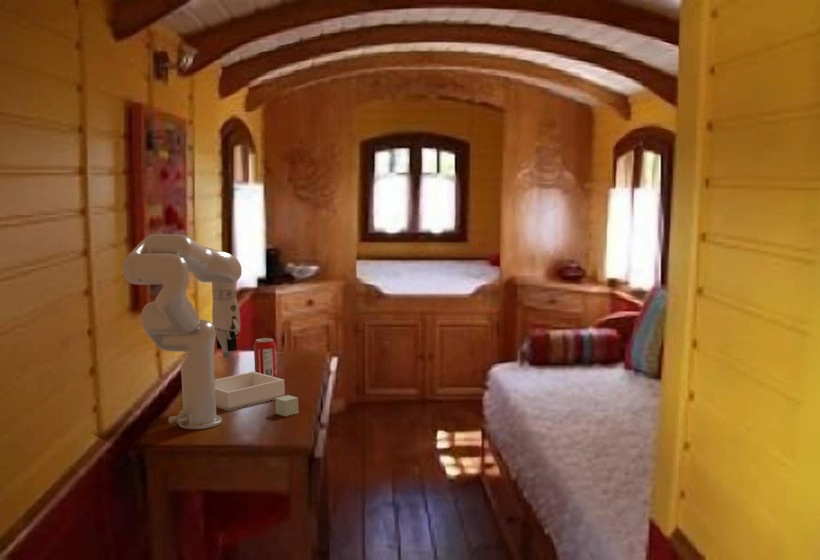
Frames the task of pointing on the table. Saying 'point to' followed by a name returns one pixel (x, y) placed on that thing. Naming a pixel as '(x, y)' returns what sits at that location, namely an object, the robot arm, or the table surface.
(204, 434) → the table surface
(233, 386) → the tote
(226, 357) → the lightbulb
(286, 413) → the sage cube
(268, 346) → the soda can
